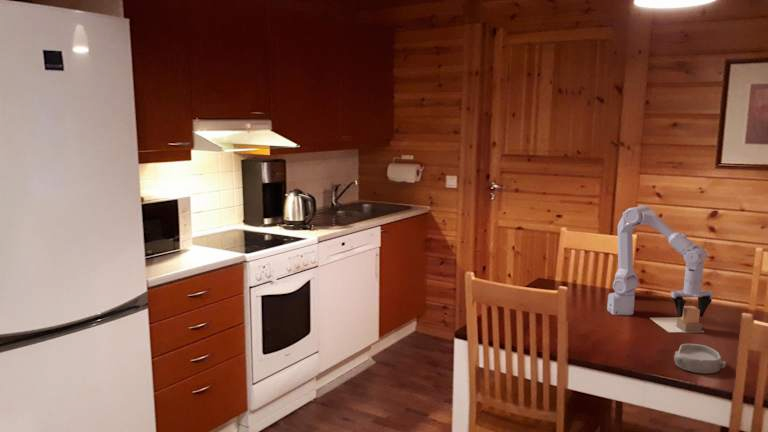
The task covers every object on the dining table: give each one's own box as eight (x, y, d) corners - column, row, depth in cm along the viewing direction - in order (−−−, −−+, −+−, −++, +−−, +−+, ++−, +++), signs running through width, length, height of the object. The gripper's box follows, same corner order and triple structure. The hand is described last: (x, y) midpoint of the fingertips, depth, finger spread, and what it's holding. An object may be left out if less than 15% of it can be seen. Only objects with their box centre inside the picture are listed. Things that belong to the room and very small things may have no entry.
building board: (669, 335, 211) (670, 324, 210) (649, 320, 226) (649, 310, 226) (704, 334, 211) (705, 324, 211) (682, 319, 227) (683, 310, 226)
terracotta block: (686, 323, 212) (687, 310, 211) (680, 318, 216) (681, 306, 215) (698, 323, 212) (700, 309, 211) (692, 318, 216) (693, 305, 215)
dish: (674, 371, 182) (675, 356, 181) (670, 354, 195) (671, 340, 194) (727, 379, 177) (729, 363, 176) (719, 361, 190) (720, 346, 189)
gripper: (679, 283, 207) (676, 320, 210) (719, 283, 208) (715, 319, 210) (669, 278, 214) (666, 313, 217) (708, 277, 214) (704, 313, 217)
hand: (690, 316), depth 214 cm, fingers open, 7 cm apart
